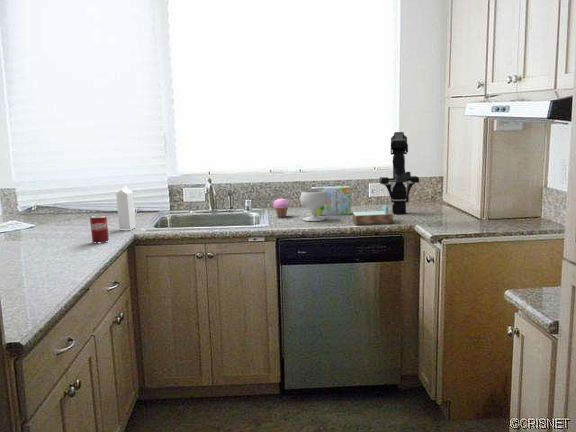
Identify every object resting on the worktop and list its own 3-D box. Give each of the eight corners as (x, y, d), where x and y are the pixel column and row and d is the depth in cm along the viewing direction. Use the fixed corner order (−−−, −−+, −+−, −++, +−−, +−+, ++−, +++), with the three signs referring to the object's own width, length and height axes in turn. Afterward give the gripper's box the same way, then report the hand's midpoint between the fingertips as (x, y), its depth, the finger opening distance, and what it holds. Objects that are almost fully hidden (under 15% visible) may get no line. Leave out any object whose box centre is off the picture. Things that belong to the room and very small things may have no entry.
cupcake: (289, 217, 314) (288, 199, 312) (273, 218, 314) (272, 199, 313) (289, 215, 323) (289, 197, 321) (274, 215, 323) (273, 197, 321)
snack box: (350, 213, 322) (350, 185, 320) (350, 214, 317) (350, 186, 314) (312, 213, 325) (311, 186, 322) (311, 215, 319) (310, 187, 317)
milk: (119, 230, 296) (115, 187, 293) (125, 228, 302) (121, 185, 298) (130, 230, 295) (126, 187, 291) (136, 228, 301) (132, 185, 297)
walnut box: (388, 219, 298) (388, 210, 297) (392, 223, 286) (392, 214, 286) (352, 220, 298) (352, 212, 297) (355, 225, 286) (355, 216, 286)
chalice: (317, 216, 315) (316, 188, 313) (333, 219, 304) (332, 190, 301) (295, 219, 308) (294, 191, 305) (311, 223, 296) (310, 193, 294)
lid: (386, 211, 297) (386, 204, 296) (390, 215, 287) (390, 207, 286) (353, 213, 297) (352, 205, 296) (355, 216, 286) (355, 208, 286)
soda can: (94, 241, 273) (92, 215, 271) (110, 240, 274) (108, 214, 272) (90, 244, 266) (88, 218, 264) (107, 243, 267) (104, 217, 265)
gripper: (382, 168, 280) (382, 200, 282) (421, 166, 280) (421, 199, 282) (378, 166, 291) (379, 197, 293) (416, 164, 291) (416, 195, 293)
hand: (399, 197), depth 290 cm, fingers open, 8 cm apart
